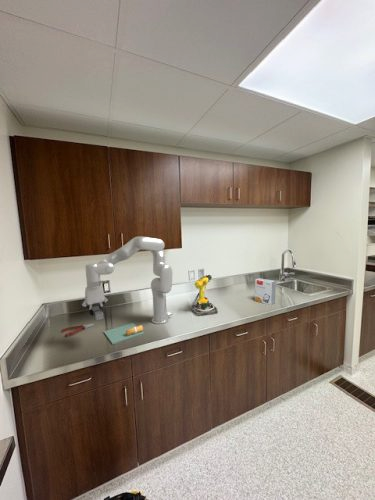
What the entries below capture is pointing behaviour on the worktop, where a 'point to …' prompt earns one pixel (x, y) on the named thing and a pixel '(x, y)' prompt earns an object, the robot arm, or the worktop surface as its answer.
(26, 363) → the worktop surface
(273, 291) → the hard drive box
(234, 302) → the worktop surface
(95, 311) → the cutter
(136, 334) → the cutting mat
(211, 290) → the worktop surface
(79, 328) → the pliers
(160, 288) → the robot arm
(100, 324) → the worktop surface
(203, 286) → the yellow upright jointed figure
